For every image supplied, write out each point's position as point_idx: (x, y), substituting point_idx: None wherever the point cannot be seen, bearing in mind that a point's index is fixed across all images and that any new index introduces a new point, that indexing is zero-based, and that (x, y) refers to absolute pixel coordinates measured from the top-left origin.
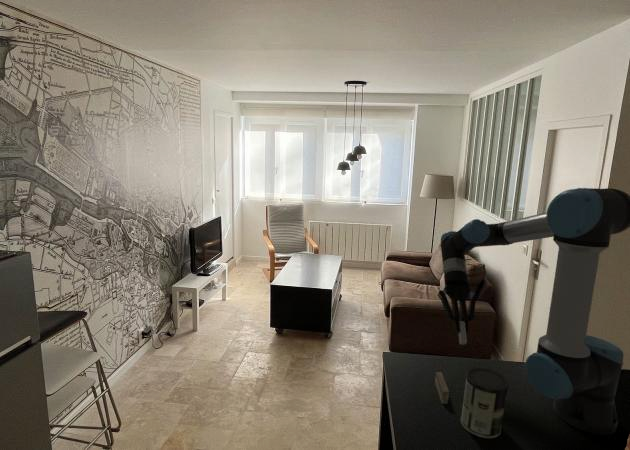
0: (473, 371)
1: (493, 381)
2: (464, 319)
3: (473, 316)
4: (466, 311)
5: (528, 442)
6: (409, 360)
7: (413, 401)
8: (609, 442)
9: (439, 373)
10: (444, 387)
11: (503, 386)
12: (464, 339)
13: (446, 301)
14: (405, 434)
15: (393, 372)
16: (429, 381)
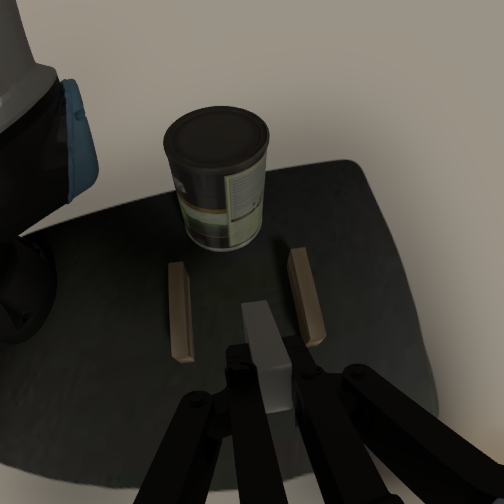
0: (246, 151)
1: (202, 129)
2: (257, 373)
3: (177, 414)
4: (237, 439)
5: (148, 200)
6: None
7: (359, 255)
8: (26, 237)
9: (316, 331)
10: (302, 263)
11: (185, 118)
12: (254, 306)
13: (451, 451)
14: (353, 173)
15: (420, 356)
16: (331, 350)
